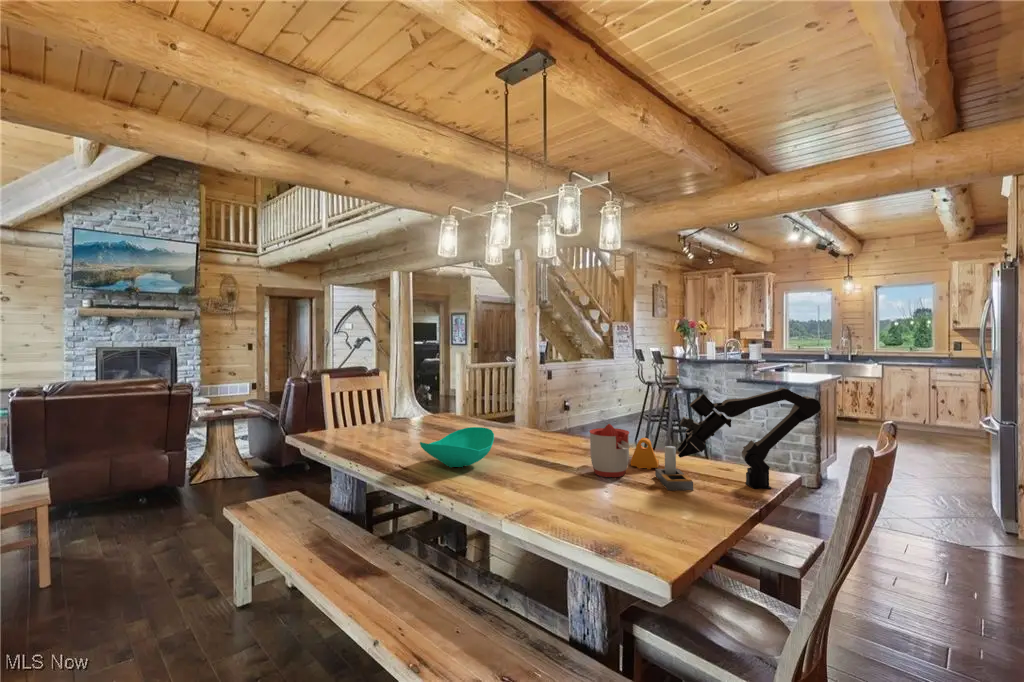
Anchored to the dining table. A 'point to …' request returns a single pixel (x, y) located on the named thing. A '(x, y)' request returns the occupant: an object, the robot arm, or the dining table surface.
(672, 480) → the grey boxy holed piece
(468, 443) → the table top decor
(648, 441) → the bracket
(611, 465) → the citrus juicer
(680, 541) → the dining table surface
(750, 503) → the dining table surface
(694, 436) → the robot arm
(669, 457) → the peg
